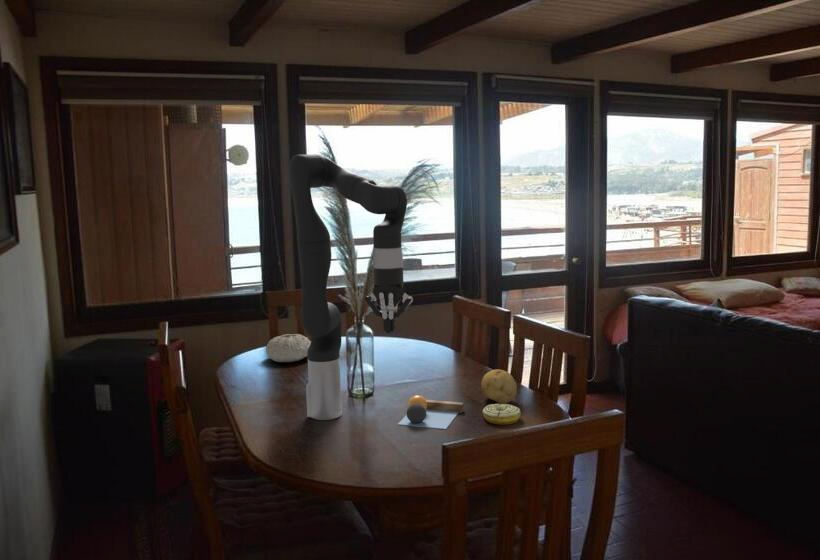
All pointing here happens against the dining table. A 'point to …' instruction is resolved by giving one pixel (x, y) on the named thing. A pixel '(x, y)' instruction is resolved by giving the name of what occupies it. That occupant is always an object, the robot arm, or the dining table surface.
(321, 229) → the robot arm
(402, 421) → the light blue square plate
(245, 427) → the dining table surface
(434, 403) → the oak rail
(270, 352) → the decorative shell
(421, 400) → the orange ball
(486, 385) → the potato
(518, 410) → the decorated donut
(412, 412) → the dark gray ball
